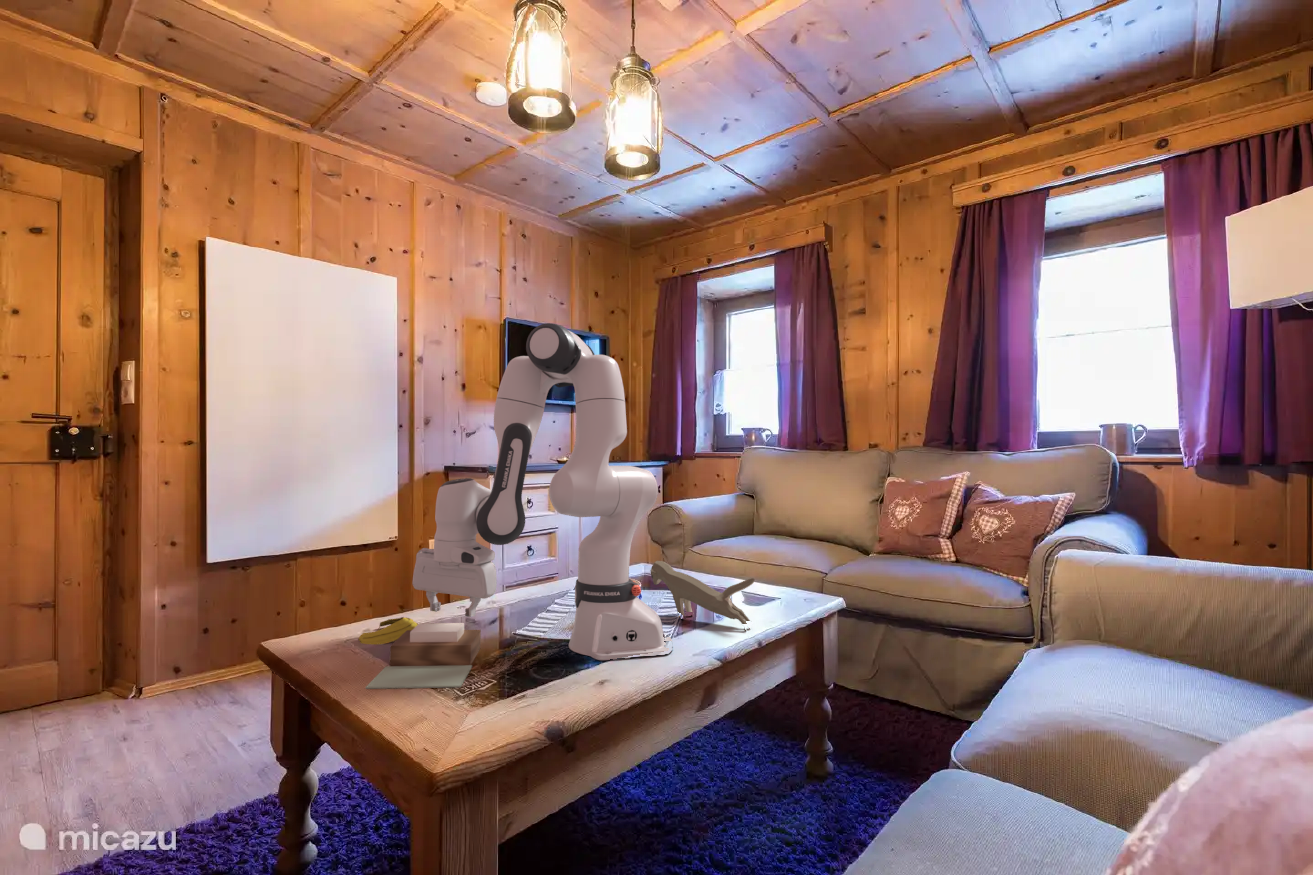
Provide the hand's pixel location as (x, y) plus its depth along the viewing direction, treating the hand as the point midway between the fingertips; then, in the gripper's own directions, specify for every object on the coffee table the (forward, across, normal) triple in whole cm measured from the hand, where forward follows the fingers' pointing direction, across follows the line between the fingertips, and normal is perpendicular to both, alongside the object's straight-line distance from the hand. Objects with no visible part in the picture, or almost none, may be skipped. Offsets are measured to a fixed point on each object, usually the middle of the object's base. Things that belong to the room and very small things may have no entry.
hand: (452, 613), depth 132 cm
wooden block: (+5, +6, -12) cm, 14 cm away
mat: (+5, +10, -21) cm, 24 cm away
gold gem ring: (+6, -12, -4) cm, 14 cm away
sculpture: (+5, +47, +36) cm, 59 cm away
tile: (+1, +6, -12) cm, 13 cm away
